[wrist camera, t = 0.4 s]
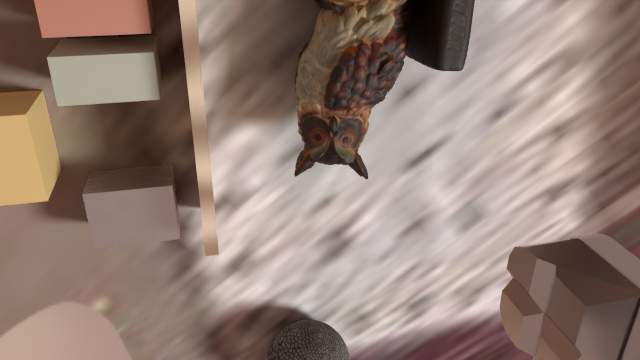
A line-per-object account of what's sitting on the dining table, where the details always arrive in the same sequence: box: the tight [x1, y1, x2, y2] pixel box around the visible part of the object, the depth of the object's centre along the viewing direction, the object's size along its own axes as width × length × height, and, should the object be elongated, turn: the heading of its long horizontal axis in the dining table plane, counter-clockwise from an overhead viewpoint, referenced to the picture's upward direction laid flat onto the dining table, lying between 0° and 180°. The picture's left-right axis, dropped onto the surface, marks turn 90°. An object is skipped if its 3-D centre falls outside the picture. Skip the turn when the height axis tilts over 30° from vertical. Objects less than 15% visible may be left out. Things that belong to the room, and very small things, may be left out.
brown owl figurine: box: [295, 0, 475, 179], centre depth 49 cm, size 15×11×25 cm
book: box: [0, 90, 61, 206], centre depth 48 cm, size 4×8×6 cm, turn 179°
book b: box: [47, 35, 162, 106], centre depth 47 cm, size 4×8×6 cm, turn 89°
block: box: [82, 164, 180, 249], centre depth 54 cm, size 6×8×5 cm
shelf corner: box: [178, 0, 219, 256], centre depth 47 cm, size 26×15×9 cm, turn 0°
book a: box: [34, 0, 154, 38], centre depth 44 cm, size 4×8×6 cm, turn 90°
